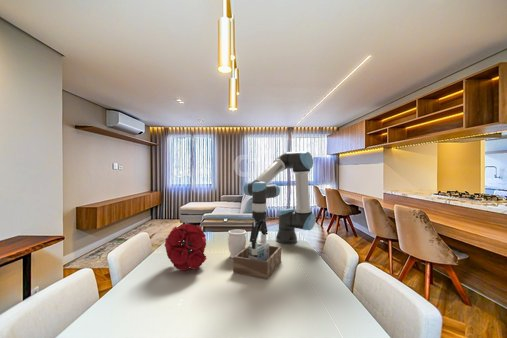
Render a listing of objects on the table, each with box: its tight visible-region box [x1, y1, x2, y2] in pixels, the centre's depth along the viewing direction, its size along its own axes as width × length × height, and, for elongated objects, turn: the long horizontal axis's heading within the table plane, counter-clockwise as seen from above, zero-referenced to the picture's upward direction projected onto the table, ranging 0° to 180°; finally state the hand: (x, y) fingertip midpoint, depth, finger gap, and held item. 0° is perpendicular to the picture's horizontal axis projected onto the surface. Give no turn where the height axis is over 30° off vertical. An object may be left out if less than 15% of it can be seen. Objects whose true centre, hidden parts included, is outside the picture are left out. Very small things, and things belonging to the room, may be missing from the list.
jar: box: [227, 229, 247, 259], centre depth 139 cm, size 11×10×15 cm
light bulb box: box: [248, 240, 270, 261], centre depth 126 cm, size 11×7×11 cm, turn 144°
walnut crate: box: [232, 242, 282, 280], centre depth 125 cm, size 24×18×8 cm
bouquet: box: [164, 223, 207, 271], centre depth 126 cm, size 22×24×30 cm
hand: (259, 250), depth 126 cm, fingers open, 13 cm apart
